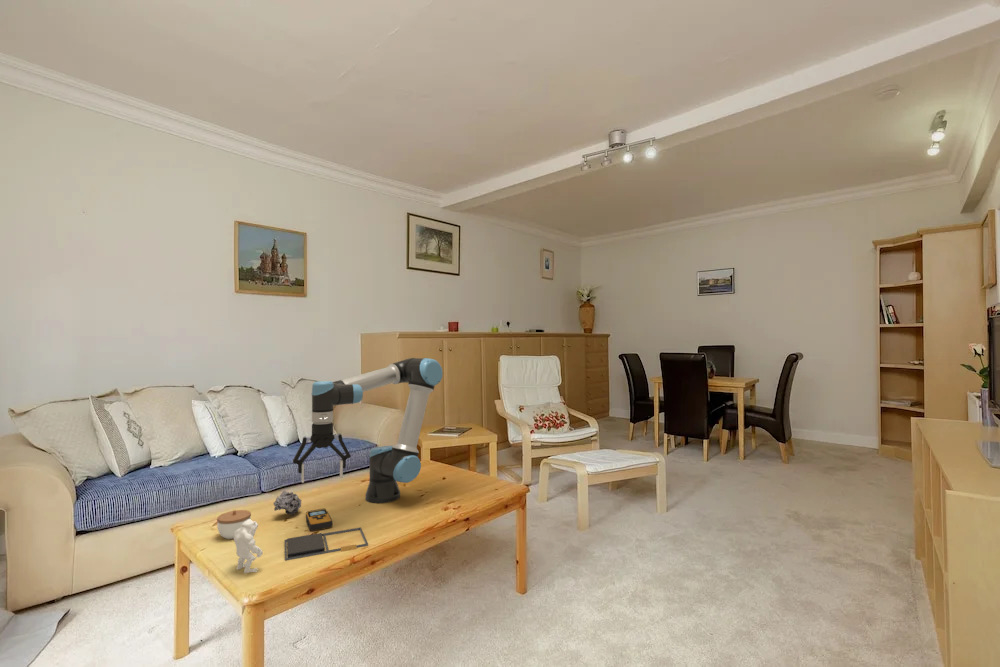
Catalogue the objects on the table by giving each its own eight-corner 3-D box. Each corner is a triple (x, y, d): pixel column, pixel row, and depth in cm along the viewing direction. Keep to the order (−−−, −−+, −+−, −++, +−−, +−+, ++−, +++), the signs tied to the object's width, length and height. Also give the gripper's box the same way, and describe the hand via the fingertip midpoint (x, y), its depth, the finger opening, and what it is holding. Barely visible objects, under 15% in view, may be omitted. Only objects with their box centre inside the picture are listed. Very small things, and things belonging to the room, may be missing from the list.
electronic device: (309, 533, 175) (309, 524, 175) (304, 519, 189) (304, 510, 189) (333, 528, 179) (333, 519, 179) (327, 515, 192) (327, 506, 193)
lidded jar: (227, 545, 165) (227, 518, 165) (210, 538, 171) (211, 512, 171) (256, 534, 174) (257, 508, 174) (240, 528, 180) (240, 503, 180)
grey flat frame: (284, 543, 167) (284, 537, 167) (360, 530, 178) (360, 525, 178) (284, 563, 151) (284, 557, 151) (368, 548, 162) (368, 542, 162)
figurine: (227, 570, 147) (227, 521, 148) (248, 561, 153) (248, 514, 153) (245, 579, 141) (245, 529, 141) (266, 570, 147) (267, 521, 147)
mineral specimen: (296, 509, 199) (296, 486, 200) (308, 515, 194) (308, 490, 194) (267, 518, 190) (267, 493, 190) (278, 524, 184) (278, 498, 184)
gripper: (286, 426, 170) (286, 486, 170) (358, 421, 181) (358, 477, 180) (285, 423, 177) (285, 480, 176) (355, 418, 187) (355, 472, 187)
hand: (322, 479), depth 178 cm, fingers open, 13 cm apart
